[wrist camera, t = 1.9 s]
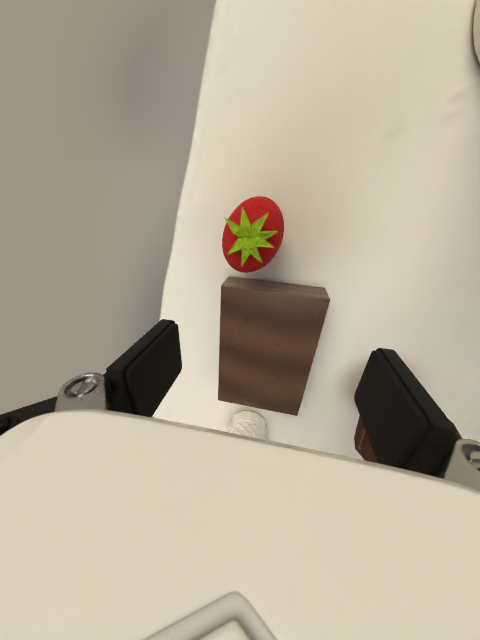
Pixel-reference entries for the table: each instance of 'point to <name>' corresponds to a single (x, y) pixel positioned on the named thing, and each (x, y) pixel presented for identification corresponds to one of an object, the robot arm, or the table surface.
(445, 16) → the table surface
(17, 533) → the robot arm
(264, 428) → the white cup
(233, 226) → the strawberry
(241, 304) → the panel
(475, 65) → the table surface
